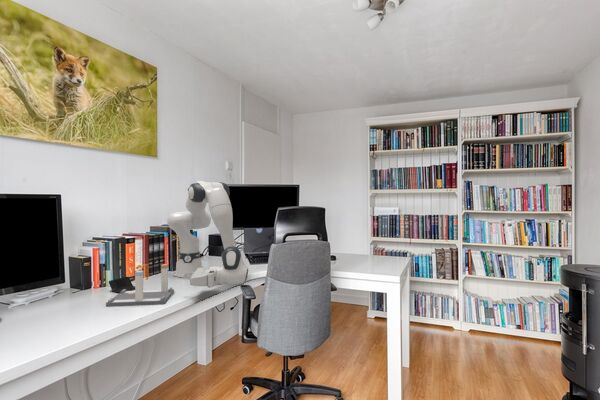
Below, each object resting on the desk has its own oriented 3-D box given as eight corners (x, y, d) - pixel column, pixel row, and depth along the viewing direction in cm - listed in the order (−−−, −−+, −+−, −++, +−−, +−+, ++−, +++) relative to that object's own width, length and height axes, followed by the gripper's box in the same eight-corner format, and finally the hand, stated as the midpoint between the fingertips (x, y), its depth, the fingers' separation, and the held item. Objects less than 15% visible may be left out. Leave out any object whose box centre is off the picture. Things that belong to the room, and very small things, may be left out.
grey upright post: (162, 289, 158) (162, 264, 158) (168, 289, 158) (168, 264, 158) (160, 291, 155) (160, 265, 155) (166, 291, 156) (167, 265, 156)
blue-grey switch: (136, 299, 143) (137, 271, 143) (143, 298, 143) (143, 270, 143) (134, 301, 140) (135, 272, 140) (141, 300, 141) (141, 272, 141)
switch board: (122, 294, 155) (122, 289, 155) (174, 292, 159) (174, 287, 159) (105, 306, 138) (105, 300, 138) (164, 304, 141) (164, 298, 141)
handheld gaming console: (123, 291, 156) (115, 273, 159) (113, 299, 157) (106, 281, 160) (141, 288, 167) (134, 272, 170) (132, 296, 168) (124, 279, 171)
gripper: (216, 264, 164) (188, 264, 161) (211, 274, 143) (179, 274, 141) (216, 276, 164) (188, 277, 162) (211, 288, 143) (178, 289, 141)
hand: (183, 276), depth 151 cm, fingers closed
